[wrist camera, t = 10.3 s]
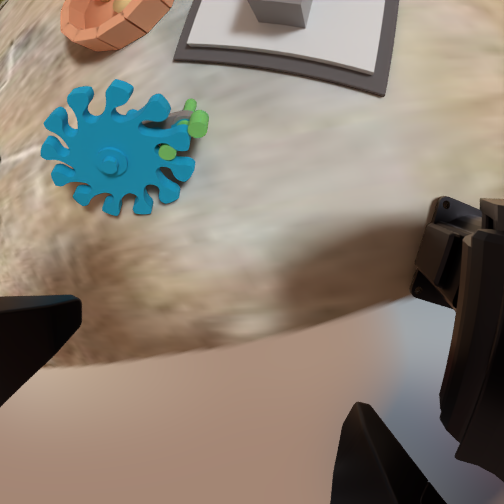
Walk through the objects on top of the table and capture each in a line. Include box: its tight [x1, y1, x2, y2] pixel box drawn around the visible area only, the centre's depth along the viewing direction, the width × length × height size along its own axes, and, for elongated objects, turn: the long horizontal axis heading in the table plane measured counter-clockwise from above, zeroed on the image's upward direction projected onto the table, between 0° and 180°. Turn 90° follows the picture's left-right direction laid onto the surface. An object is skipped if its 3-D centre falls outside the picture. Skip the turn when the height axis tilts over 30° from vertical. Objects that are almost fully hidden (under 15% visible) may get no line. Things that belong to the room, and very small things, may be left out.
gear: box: [41, 79, 209, 216], centre depth 18 cm, size 11×6×10 cm
